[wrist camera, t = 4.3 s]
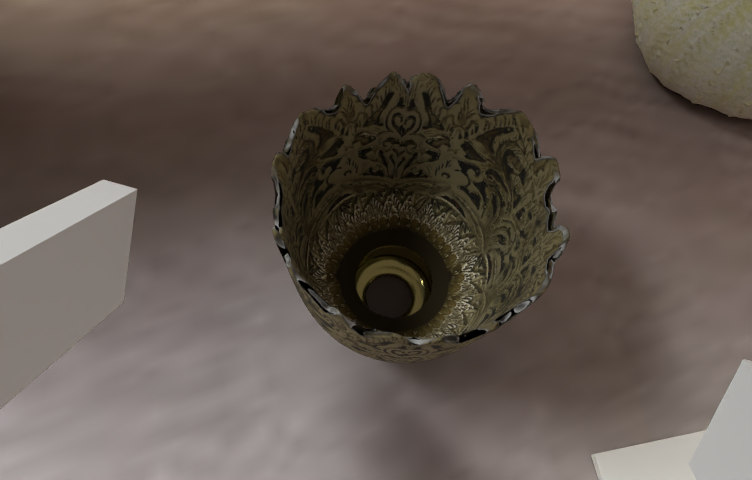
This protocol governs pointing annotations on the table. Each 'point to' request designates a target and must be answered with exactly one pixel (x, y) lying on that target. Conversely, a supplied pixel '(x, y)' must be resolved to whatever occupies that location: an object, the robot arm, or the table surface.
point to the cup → (416, 215)
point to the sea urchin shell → (699, 50)
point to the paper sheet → (650, 460)
